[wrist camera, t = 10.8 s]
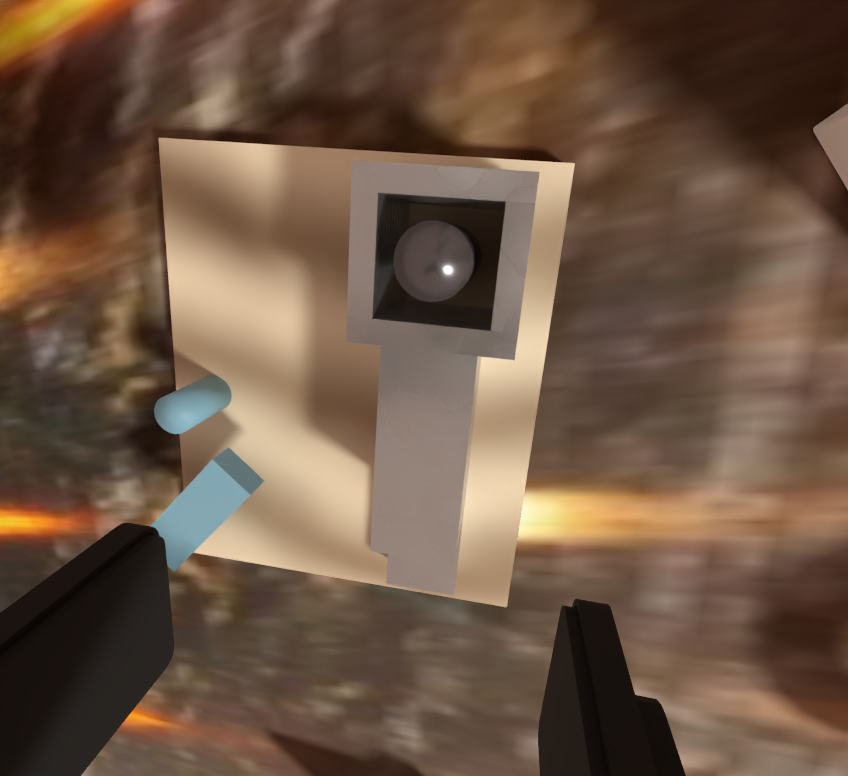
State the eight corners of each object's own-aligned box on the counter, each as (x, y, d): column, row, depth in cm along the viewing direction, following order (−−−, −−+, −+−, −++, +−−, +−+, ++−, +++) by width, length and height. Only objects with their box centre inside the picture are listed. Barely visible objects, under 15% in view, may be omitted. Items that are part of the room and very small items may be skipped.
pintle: (426, 223, 19) (395, 217, 14) (484, 227, 19) (475, 223, 14) (422, 282, 20) (391, 298, 14) (478, 287, 19) (467, 305, 14)
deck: (177, 143, 21) (158, 137, 20) (570, 168, 19) (574, 163, 18) (201, 538, 27) (187, 551, 25) (506, 590, 24) (506, 607, 23)
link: (390, 179, 19) (352, 159, 14) (531, 189, 18) (539, 171, 13) (370, 557, 24) (337, 637, 19) (481, 576, 23) (474, 663, 18)
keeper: (226, 362, 23) (158, 391, 19) (306, 439, 24) (259, 486, 19) (157, 442, 25) (80, 487, 21) (232, 512, 26) (174, 571, 21)
